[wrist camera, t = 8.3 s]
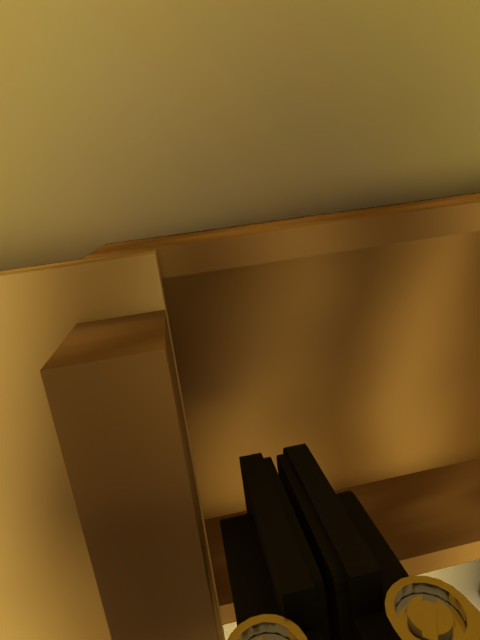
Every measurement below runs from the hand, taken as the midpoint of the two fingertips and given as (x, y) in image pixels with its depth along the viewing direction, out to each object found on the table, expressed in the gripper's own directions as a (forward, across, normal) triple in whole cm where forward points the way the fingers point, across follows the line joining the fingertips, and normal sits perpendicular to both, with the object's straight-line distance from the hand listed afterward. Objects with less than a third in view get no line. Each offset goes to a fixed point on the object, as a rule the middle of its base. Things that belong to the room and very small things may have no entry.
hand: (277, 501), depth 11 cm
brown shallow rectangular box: (+8, -5, 0) cm, 9 cm away
